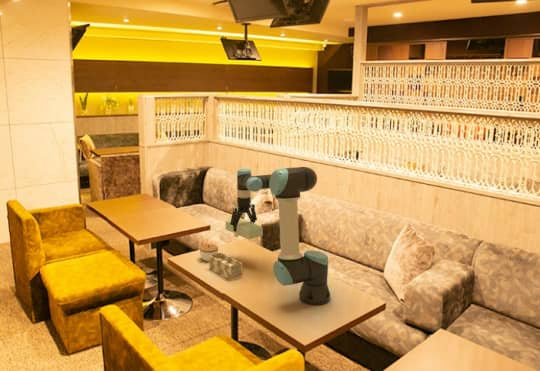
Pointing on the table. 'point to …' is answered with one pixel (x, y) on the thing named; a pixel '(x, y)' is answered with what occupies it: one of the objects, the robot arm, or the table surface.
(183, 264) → the table surface
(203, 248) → the lidded jar
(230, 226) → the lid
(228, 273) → the napkin box
